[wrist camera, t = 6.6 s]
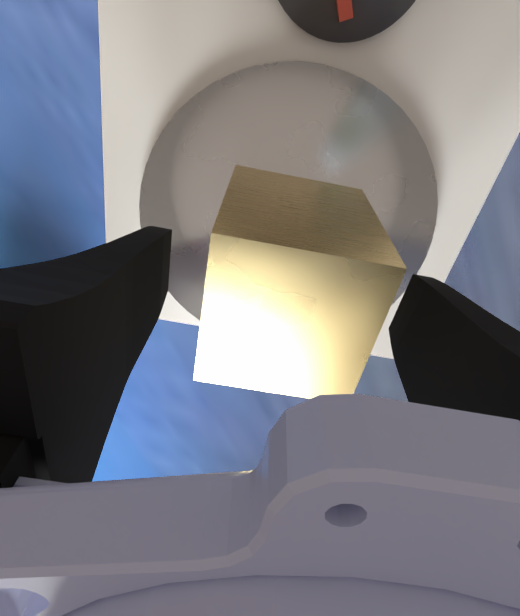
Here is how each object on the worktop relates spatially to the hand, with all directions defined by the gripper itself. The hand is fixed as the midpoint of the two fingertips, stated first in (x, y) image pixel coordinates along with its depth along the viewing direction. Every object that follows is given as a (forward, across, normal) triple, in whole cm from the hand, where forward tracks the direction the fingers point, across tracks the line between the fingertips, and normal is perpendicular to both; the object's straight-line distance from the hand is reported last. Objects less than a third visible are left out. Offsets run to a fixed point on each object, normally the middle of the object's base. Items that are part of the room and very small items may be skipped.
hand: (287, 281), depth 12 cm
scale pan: (+4, 0, 0) cm, 4 cm away
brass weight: (+4, 0, 0) cm, 4 cm away
